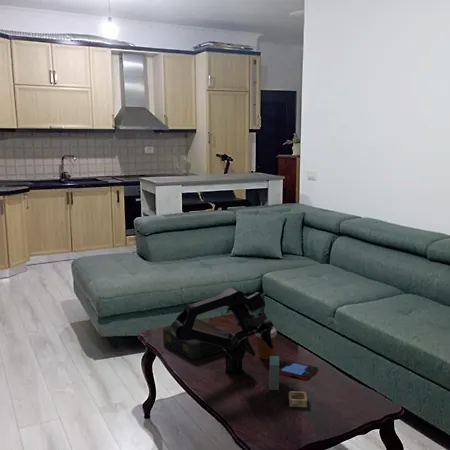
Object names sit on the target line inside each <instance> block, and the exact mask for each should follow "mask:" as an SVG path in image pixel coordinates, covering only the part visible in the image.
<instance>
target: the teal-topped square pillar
mask: <svg viewBox="0 0 450 450" xmlns="http://www.w3.org/2000/svg"><path fill="white" fill-rule="evenodd" d="M279 365H280V356H279V355H273V356H270V359H269V390H270V391H279V390H280V375H279Z"/></svg>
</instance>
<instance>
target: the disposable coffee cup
mask: <svg viewBox="0 0 450 450" xmlns="http://www.w3.org/2000/svg"><path fill="white" fill-rule="evenodd" d="M272 328H273V329H272V330H271V340H272V345H273V348H272V349H271V348H270V347H269V346H268V345H267V344H266V343H265V341H264V340H263V339H262V337H261V335H262V334H260V333H257V334H254V336H255V339H256V340H255V341H256V342H255V343H256V348H257V349H256V350H257V356H258V358H259V359H261V360H270V356H274V351H275V344H276V338H277V337H276V336H277V334H278V331H277V329H276V328H275V327H274V326H273V327H272Z"/></svg>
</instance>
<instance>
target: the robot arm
mask: <svg viewBox="0 0 450 450" xmlns="http://www.w3.org/2000/svg"><path fill="white" fill-rule="evenodd" d="M223 307H227V310H226V312H225V313H226V314H230V313H231V312H232V314H233V316H234V318H235V320H236V321H237V323H236V325H237V327H240V328H241V331H238V332H236V333H232V332H231V331H229V332H228V335H227V336H223V335H220V334H216V333H212V332H208V331H205V330H201V329H197V328H194V327H193V325H194V322H195V318H197V317H198V316H199V315H202V314H205V313H208V312H211V311H214V310H217V309H219V308H223ZM263 308H266V302H265V301H264V298H263V297H262V296H261V293H260V292H258V291H256V292H254V293H252V294H250V295H249V296H246V295H245V293H244V292H243V291H242V290H240V289H239V288H237V287H236V286H231V287H229V288H226V289H225V290H223V291H222V292H221V293H220V294H218V295H215V296H212V297H209V298H206V299H203V300H200V301H197V302H194V303H188V304H187V305H186V306H185V307H184V309H183V310H182V312H180V313H179V314H178V315H177V317H176V319H175V321H173V322H172V323H171V332H172V333H173V334H174V335H175V336H176V337H177V338H178V339H179V340H186V341H189V340H198V341H202V342H206V343H210V344H214V345H218V346H222V347H224V348H223V350H222V352H223V353H224V354H225V356H224V358H225V360H224V361H225V362H224V363H225V368H224V369H225V370H224V374H227V375H228V374H232V375H233V374H235V375H241V374H242V371H243V370H244V357H245V354H246V353H248V354H249V355H251V356H252V357H255V356H256V355H257V354H256V353H255V350H254V349H253V347H252V345H251V344H250V339H249V337H251V336H255V334H257V333H260V334H262V335H261V337H262V339H263V340H264V341H265V343H266V344H267V345H268V346H269V347H270V348H271V349H272V348H273V345H272V340H271V330H272V329H273V328H272V327H274V326H275V324H274V323H273V322H272V320H268V317H267V315H266V313H265V311H262V312H259V313H258V314H257V316H255V315H254V314H253V313H256V312H258V311H259V310H261V309H263ZM250 312H251V313H252V314H251V313H250Z"/></svg>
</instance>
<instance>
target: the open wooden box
mask: <svg viewBox="0 0 450 450" xmlns="http://www.w3.org/2000/svg"><path fill="white" fill-rule="evenodd" d="M288 404H289V408H308V397H307V391H295V390H294V391H293V390H292V391H291V390H290V391H288Z"/></svg>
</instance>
